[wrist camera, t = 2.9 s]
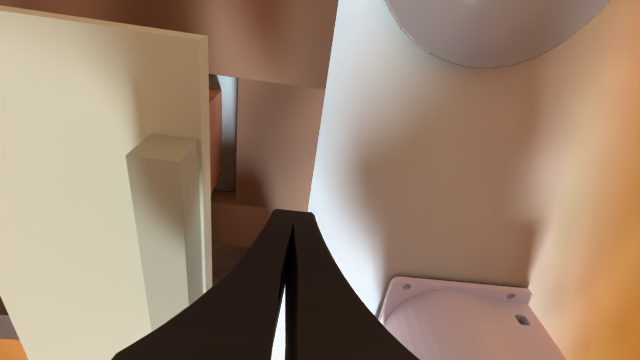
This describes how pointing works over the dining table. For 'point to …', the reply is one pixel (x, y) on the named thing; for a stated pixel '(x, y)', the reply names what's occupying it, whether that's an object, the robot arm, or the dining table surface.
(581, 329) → the dining table surface
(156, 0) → the puzzle board
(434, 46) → the saucer
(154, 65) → the sliding lid
